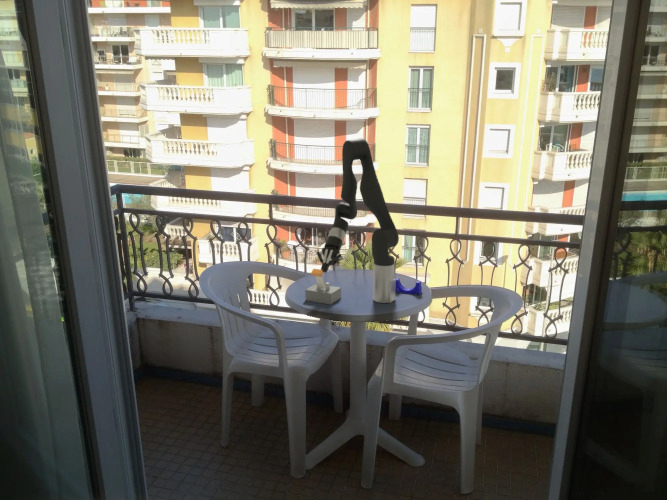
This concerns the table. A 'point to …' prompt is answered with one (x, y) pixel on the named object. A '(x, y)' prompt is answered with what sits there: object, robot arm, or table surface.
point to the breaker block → (323, 293)
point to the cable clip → (415, 290)
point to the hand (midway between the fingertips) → (323, 271)
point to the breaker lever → (318, 277)
